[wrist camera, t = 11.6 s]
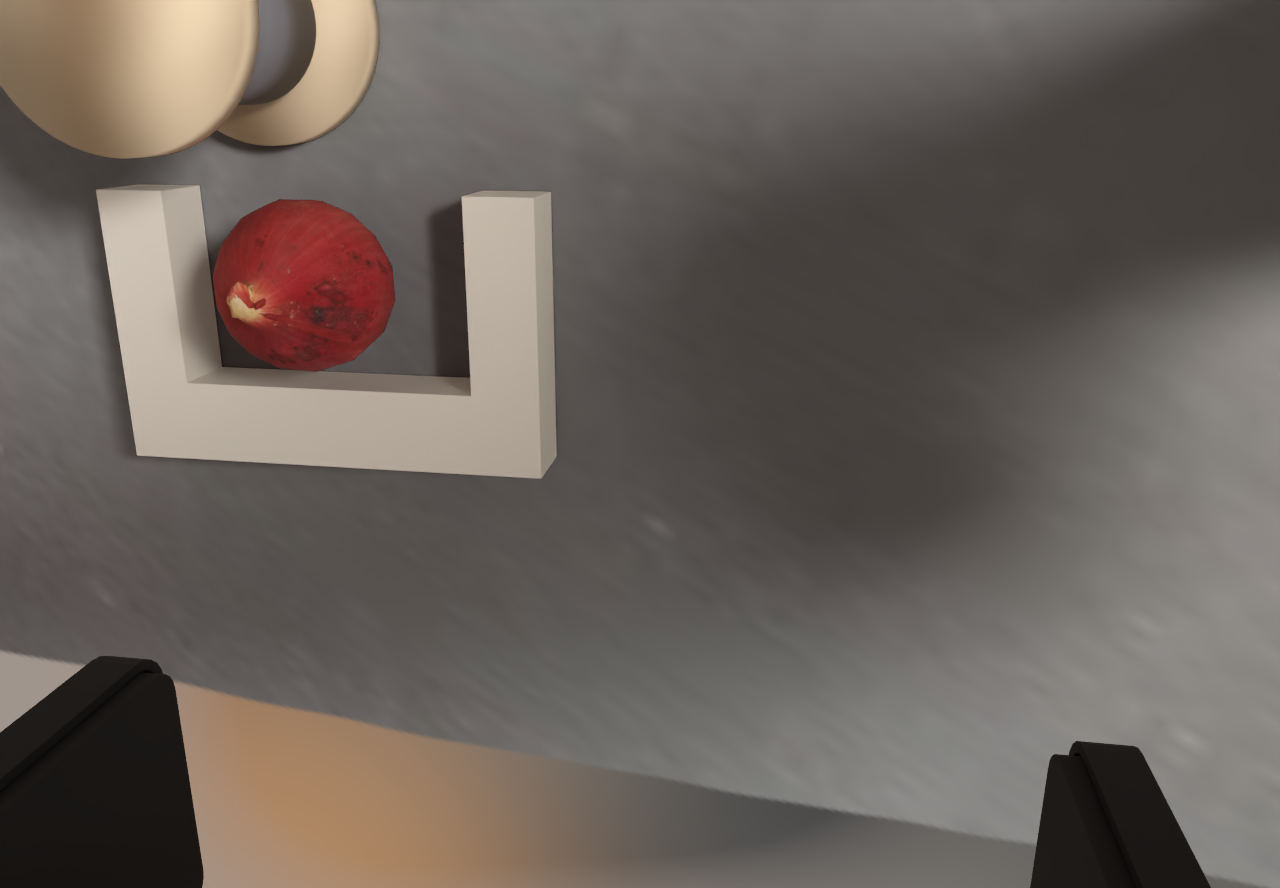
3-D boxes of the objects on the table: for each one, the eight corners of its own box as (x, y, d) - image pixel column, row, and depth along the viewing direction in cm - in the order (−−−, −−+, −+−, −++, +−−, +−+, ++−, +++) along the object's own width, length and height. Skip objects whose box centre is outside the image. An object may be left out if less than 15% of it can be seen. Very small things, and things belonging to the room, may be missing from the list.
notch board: (550, 191, 37) (533, 197, 35) (556, 456, 40) (541, 478, 38) (138, 184, 40) (95, 189, 37) (173, 435, 43) (137, 455, 40)
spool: (370, -102, 35) (221, -170, 26) (387, 146, 38) (257, 160, 29) (151, -96, 36) (-64, -160, 27) (181, 143, 39) (-6, 156, 30)
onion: (444, 229, 38) (355, 261, 31) (398, 368, 40) (304, 430, 33) (300, 166, 38) (176, 182, 31) (260, 307, 40) (135, 355, 33)
